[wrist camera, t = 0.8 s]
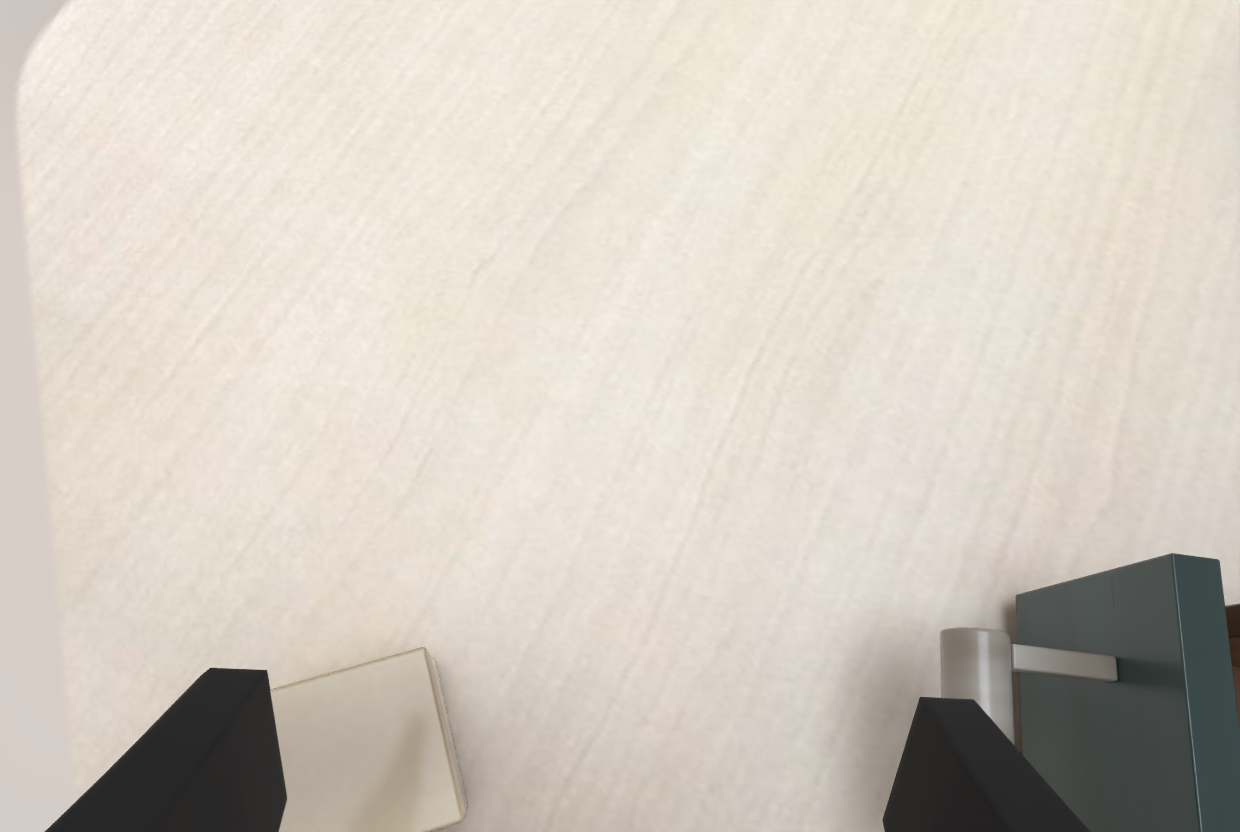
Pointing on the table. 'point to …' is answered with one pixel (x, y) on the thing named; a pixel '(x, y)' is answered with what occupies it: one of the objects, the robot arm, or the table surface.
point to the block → (369, 749)
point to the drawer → (1120, 693)
